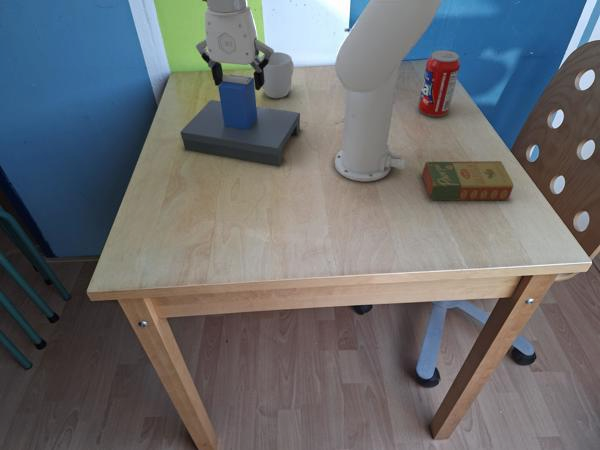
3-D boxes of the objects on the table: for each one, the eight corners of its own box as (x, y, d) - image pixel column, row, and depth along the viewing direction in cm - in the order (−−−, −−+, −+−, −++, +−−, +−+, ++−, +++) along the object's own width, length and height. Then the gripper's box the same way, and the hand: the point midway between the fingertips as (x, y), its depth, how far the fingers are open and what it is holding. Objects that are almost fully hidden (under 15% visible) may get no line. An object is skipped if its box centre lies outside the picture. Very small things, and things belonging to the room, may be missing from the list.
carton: (508, 201, 86) (515, 185, 83) (428, 201, 87) (433, 184, 84) (495, 175, 92) (502, 159, 89) (421, 175, 93) (425, 159, 90)
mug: (281, 103, 117) (279, 68, 110) (255, 96, 120) (251, 61, 113) (305, 85, 125) (304, 51, 118) (279, 78, 128) (278, 45, 121)
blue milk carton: (257, 117, 102) (253, 73, 94) (247, 130, 98) (242, 85, 90) (234, 114, 103) (228, 70, 96) (224, 126, 99) (217, 81, 92)
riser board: (300, 130, 107) (299, 112, 103) (278, 166, 96) (277, 148, 92) (213, 117, 112) (210, 99, 109) (184, 149, 101) (180, 131, 98)
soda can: (447, 120, 109) (462, 63, 99) (416, 116, 111) (427, 60, 100) (448, 106, 115) (462, 50, 104) (418, 102, 116) (429, 47, 106)
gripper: (178, 5, 82) (196, 89, 94) (261, 10, 78) (269, 97, 89) (196, -7, 87) (211, 74, 99) (275, -2, 83) (281, 81, 94)
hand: (239, 85), depth 94 cm, fingers open, 9 cm apart
